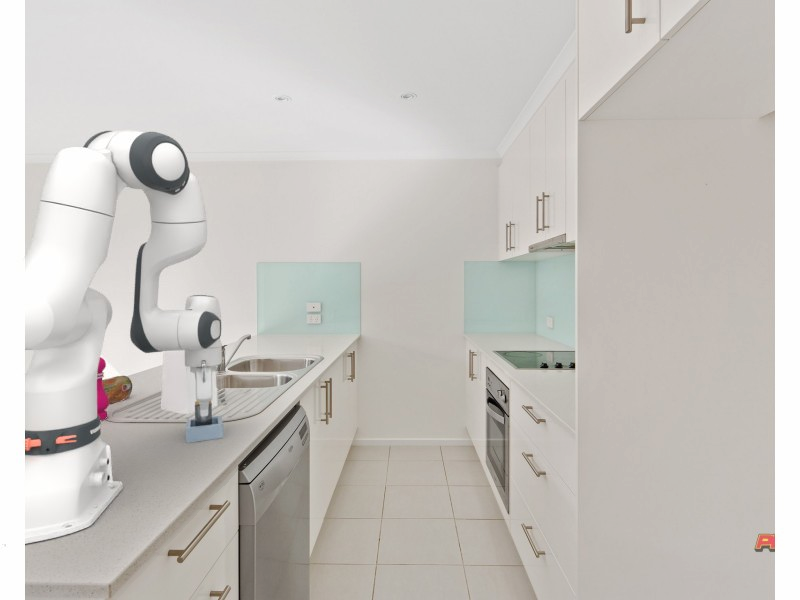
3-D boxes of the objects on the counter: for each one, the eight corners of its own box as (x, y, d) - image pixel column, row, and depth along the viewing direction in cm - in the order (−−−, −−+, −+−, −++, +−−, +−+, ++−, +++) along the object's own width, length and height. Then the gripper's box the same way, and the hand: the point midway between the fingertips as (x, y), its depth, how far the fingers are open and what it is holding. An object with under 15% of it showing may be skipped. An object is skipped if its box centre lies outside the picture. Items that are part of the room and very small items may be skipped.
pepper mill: (94, 424, 125) (92, 353, 124) (72, 422, 126) (71, 352, 125) (115, 416, 132) (114, 349, 131) (94, 415, 133) (93, 348, 132)
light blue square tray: (222, 437, 113) (222, 424, 113) (185, 442, 110) (185, 428, 110) (221, 428, 121) (221, 415, 121) (186, 432, 117) (186, 419, 117)
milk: (160, 409, 139) (159, 327, 138) (192, 401, 150) (191, 324, 149) (187, 414, 134) (185, 328, 133) (217, 405, 144) (216, 325, 144)
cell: (212, 432, 114) (211, 399, 114) (195, 434, 112) (194, 401, 112) (211, 428, 118) (211, 396, 117) (195, 430, 116) (194, 397, 116)
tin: (94, 409, 140) (93, 382, 139) (86, 408, 140) (85, 382, 140) (133, 397, 154) (132, 373, 154) (125, 397, 155) (125, 373, 155)
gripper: (218, 363, 106) (218, 420, 107) (215, 351, 125) (215, 400, 125) (189, 365, 104) (189, 423, 104) (190, 353, 122) (191, 402, 123)
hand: (204, 410), depth 115 cm, fingers open, 8 cm apart
